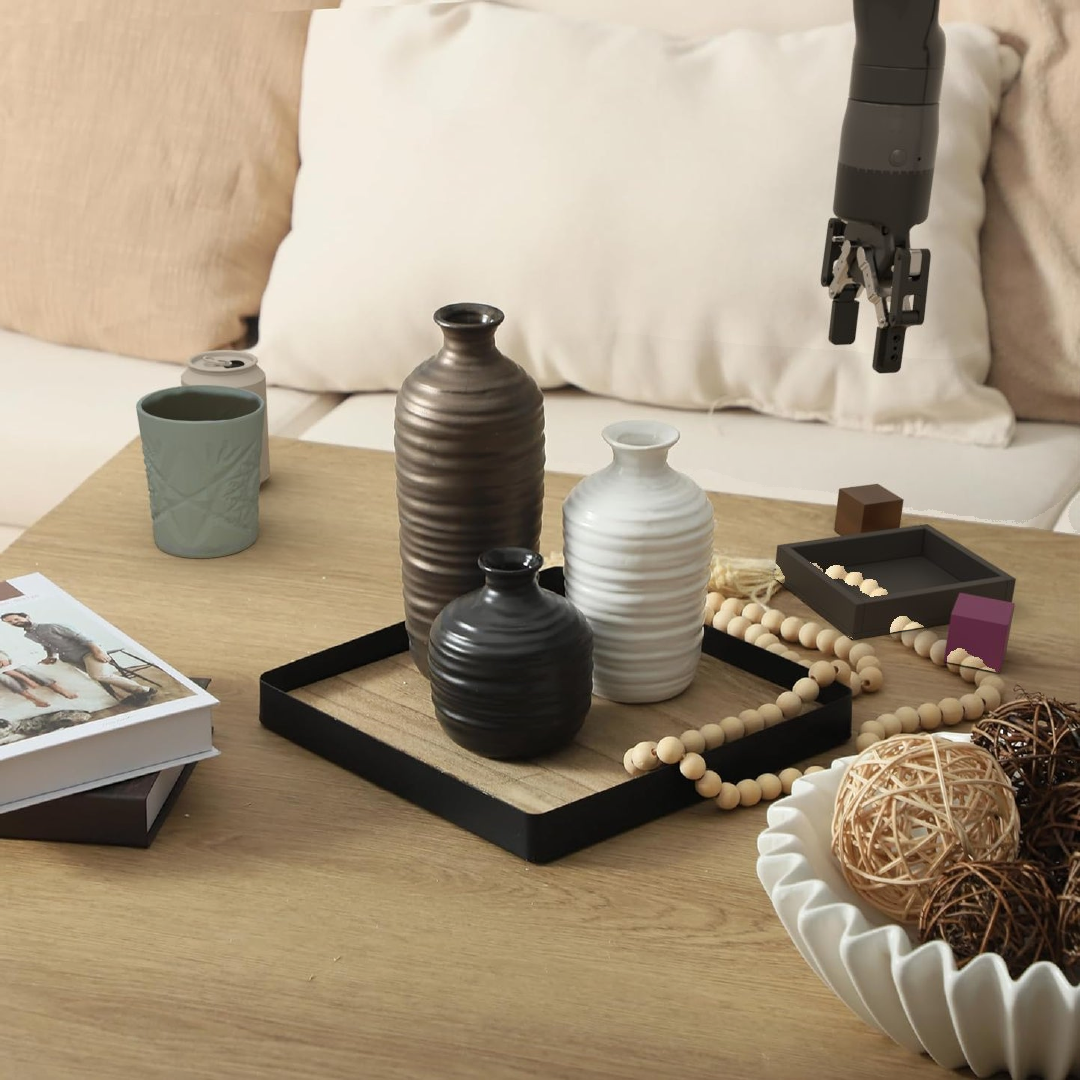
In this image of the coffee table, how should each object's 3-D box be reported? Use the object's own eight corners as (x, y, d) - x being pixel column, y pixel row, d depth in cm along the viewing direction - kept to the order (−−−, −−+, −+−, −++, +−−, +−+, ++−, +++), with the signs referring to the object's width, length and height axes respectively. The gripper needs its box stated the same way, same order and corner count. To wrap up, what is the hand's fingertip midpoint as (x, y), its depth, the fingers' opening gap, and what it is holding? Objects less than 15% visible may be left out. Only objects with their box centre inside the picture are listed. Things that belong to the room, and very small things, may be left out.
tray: (922, 555, 125) (927, 523, 124) (1010, 613, 116) (1016, 578, 114) (773, 578, 120) (776, 544, 119) (851, 640, 110) (856, 604, 109)
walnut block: (872, 525, 131) (877, 483, 130) (898, 542, 128) (904, 499, 126) (833, 530, 130) (838, 488, 128) (858, 547, 127) (864, 504, 125)
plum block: (951, 640, 111) (959, 592, 109) (1006, 651, 110) (1014, 602, 108) (943, 662, 108) (951, 613, 106) (999, 674, 106) (1008, 624, 105)
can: (266, 498, 133) (260, 370, 128) (182, 498, 132) (173, 369, 127) (273, 468, 140) (268, 346, 135) (193, 468, 139) (185, 345, 134)
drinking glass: (126, 532, 125) (114, 397, 120) (231, 506, 131) (224, 376, 126) (184, 572, 118) (174, 430, 113) (293, 542, 124) (288, 406, 119)
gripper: (974, 173, 111) (944, 380, 117) (889, 145, 124) (866, 333, 130) (883, 174, 109) (858, 384, 116) (806, 145, 122) (787, 336, 128)
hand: (862, 357), depth 123 cm, fingers open, 8 cm apart
